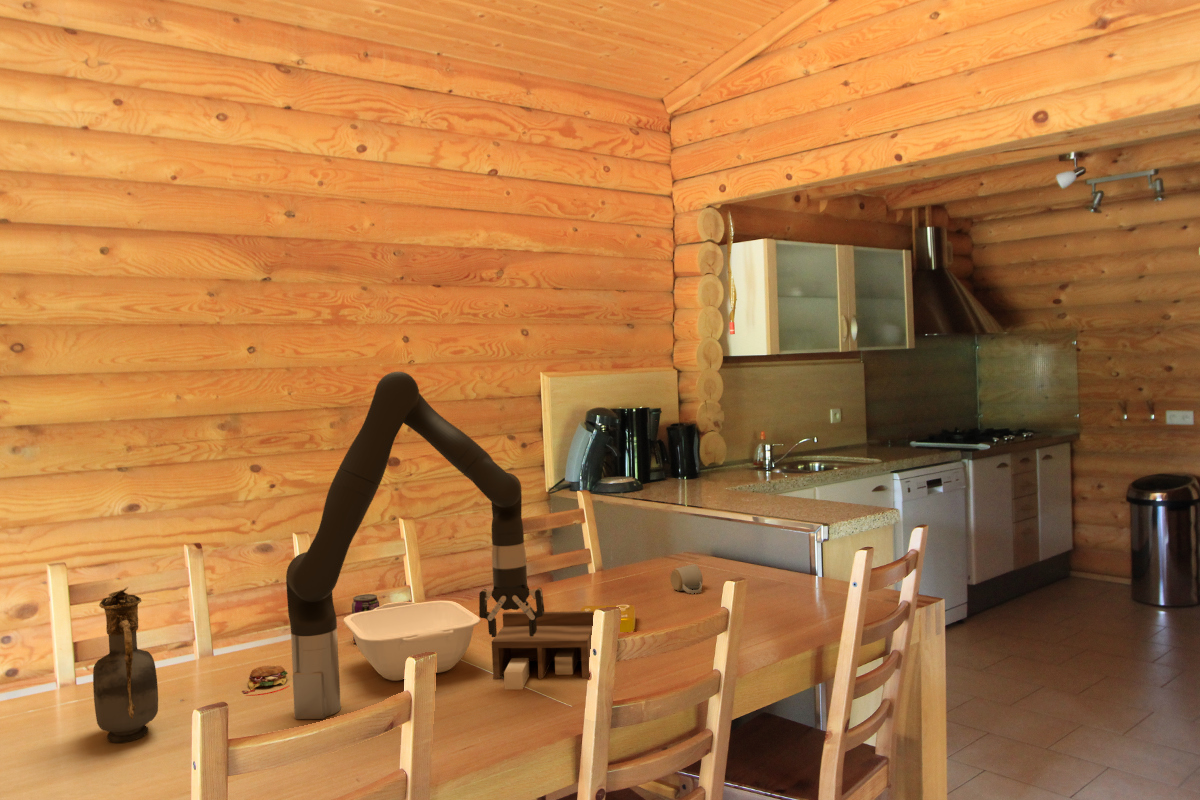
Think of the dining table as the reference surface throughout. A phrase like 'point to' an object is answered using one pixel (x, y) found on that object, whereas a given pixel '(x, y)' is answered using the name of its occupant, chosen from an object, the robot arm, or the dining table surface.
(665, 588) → the dining table surface
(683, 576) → the ceramic mug
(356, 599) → the beverage can
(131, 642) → the pitcher
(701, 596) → the dining table surface
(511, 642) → the walnut shelf
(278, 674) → the hamburger
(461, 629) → the white plastic basin
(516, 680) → the cream block
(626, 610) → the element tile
